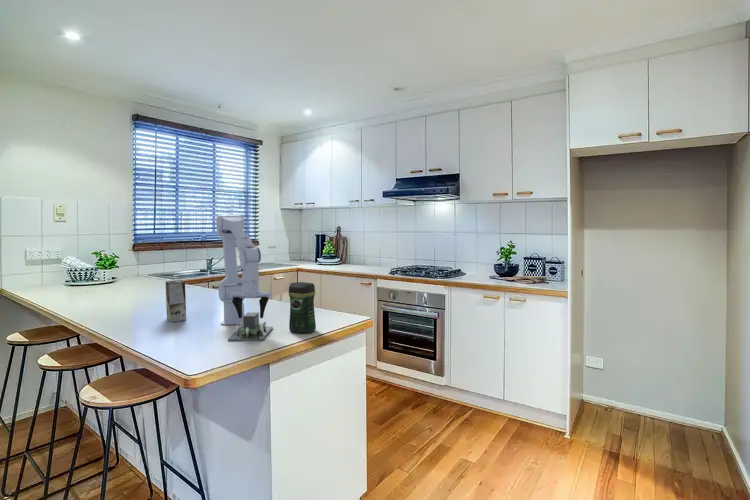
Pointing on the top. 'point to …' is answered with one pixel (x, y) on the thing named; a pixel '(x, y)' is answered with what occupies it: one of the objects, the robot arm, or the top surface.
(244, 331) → the grey block
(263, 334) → the peg board with balls
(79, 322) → the top surface
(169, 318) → the coffee box
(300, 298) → the coffee jar
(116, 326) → the top surface
